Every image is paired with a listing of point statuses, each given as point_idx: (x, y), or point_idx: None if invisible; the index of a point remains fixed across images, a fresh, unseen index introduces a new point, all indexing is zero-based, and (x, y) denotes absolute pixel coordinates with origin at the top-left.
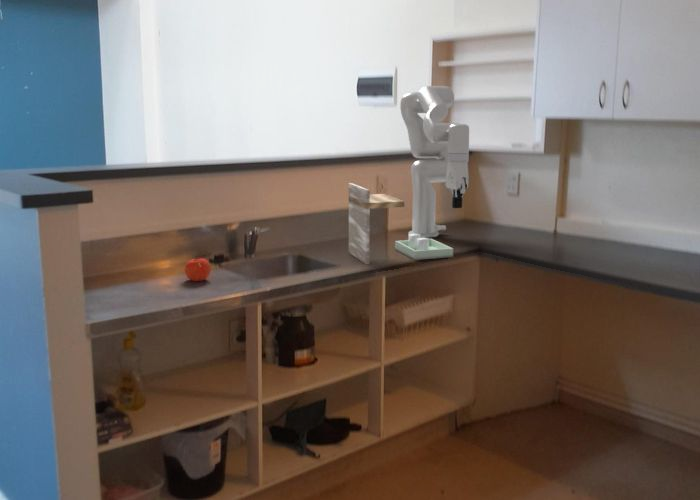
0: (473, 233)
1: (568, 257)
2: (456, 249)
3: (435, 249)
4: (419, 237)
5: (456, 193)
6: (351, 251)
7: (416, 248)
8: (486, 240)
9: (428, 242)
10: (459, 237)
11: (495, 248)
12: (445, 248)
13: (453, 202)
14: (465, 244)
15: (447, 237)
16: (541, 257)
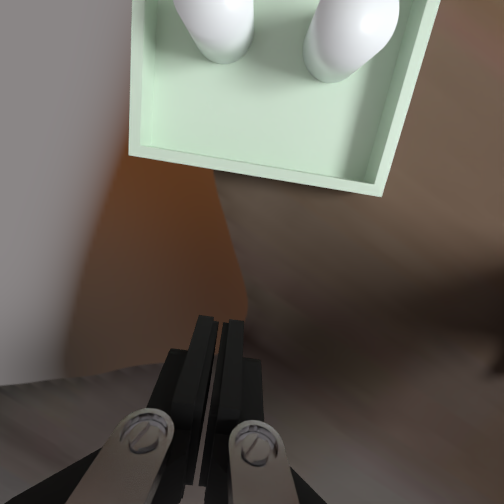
0: (460, 456)
1: (30, 468)
2: (270, 257)
3: (138, 49)
4: (317, 41)
5: (82, 481)
6: None
7: (304, 39)
8: (342, 428)
9: (183, 22)
10: (441, 386)
11: None
12: (196, 154)
13: (218, 354)
14: (328, 337)
15: (471, 352)
16: (49, 415)
